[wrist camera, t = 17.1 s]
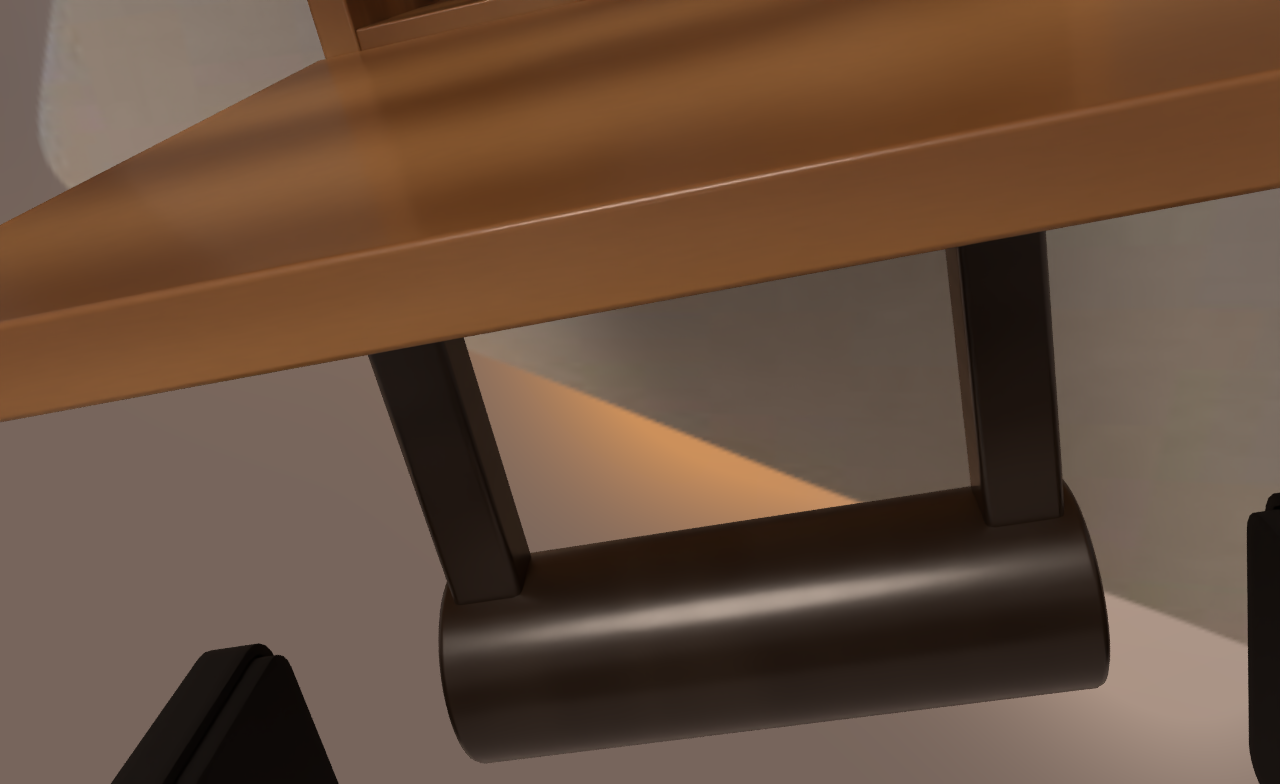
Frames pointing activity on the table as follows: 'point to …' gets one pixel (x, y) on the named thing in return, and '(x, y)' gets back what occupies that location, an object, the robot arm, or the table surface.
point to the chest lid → (662, 270)
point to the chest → (406, 19)
